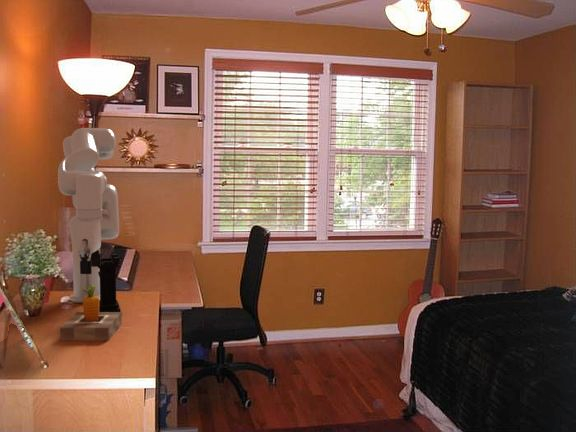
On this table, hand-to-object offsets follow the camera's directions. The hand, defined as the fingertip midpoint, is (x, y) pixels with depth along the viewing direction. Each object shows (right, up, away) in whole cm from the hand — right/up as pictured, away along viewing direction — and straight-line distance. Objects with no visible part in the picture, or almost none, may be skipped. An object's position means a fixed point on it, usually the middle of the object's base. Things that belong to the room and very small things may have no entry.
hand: (90, 270), depth 185 cm
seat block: (0, -19, +2) cm, 19 cm away
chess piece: (-1, -17, +21) cm, 27 cm away
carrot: (0, -20, +2) cm, 20 cm away
